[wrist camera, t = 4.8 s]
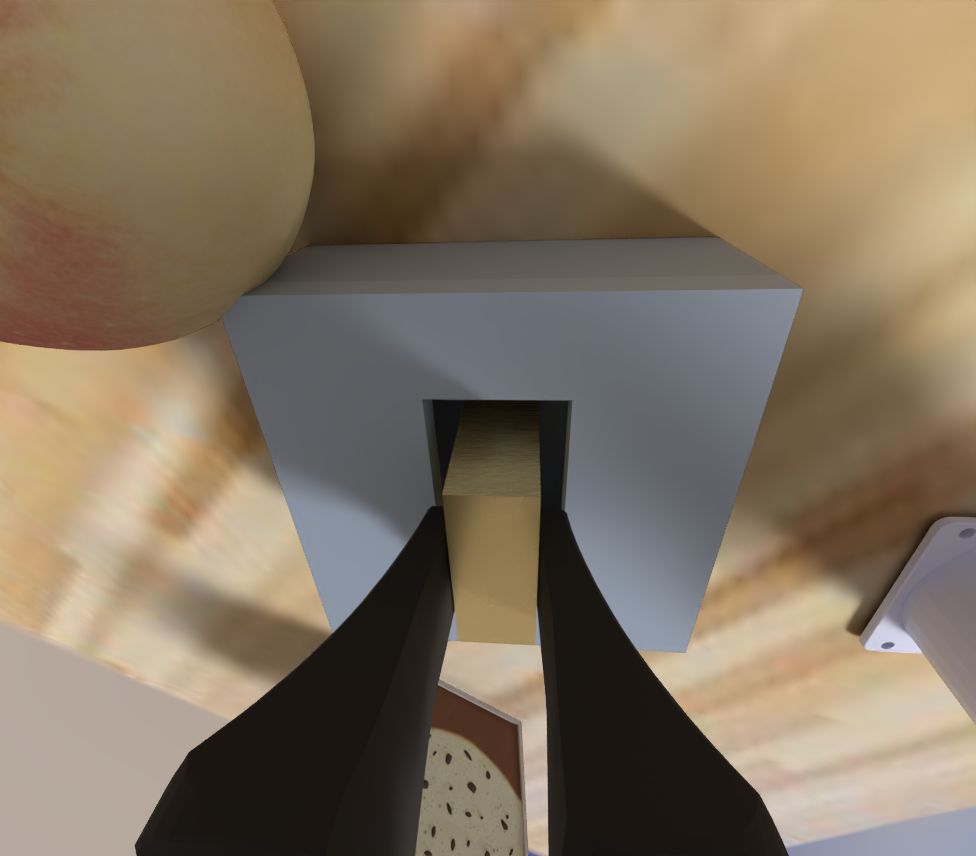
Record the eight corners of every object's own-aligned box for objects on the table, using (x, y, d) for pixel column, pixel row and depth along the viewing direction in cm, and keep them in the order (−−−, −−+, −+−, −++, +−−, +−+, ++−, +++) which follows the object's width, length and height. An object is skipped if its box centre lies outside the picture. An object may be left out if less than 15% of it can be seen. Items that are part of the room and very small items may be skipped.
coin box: (717, 236, 13) (803, 288, 9) (653, 540, 20) (685, 653, 16) (307, 245, 14) (213, 295, 10) (373, 531, 21) (333, 634, 17)
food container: (318, 686, 28) (229, 921, 20) (372, 644, 26) (294, 899, 17) (477, 760, 32) (457, 985, 24) (539, 731, 29) (542, 975, 21)
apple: (67, 239, 15) (-327, 339, 8) (-38, -201, 10) (-1293, -911, 3) (346, 312, 15) (200, 464, 8) (378, -66, 10) (96, -412, 4)
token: (537, 382, 14) (540, 497, 9) (534, 511, 16) (535, 645, 12) (468, 382, 14) (441, 494, 10) (476, 509, 16) (458, 641, 12)
